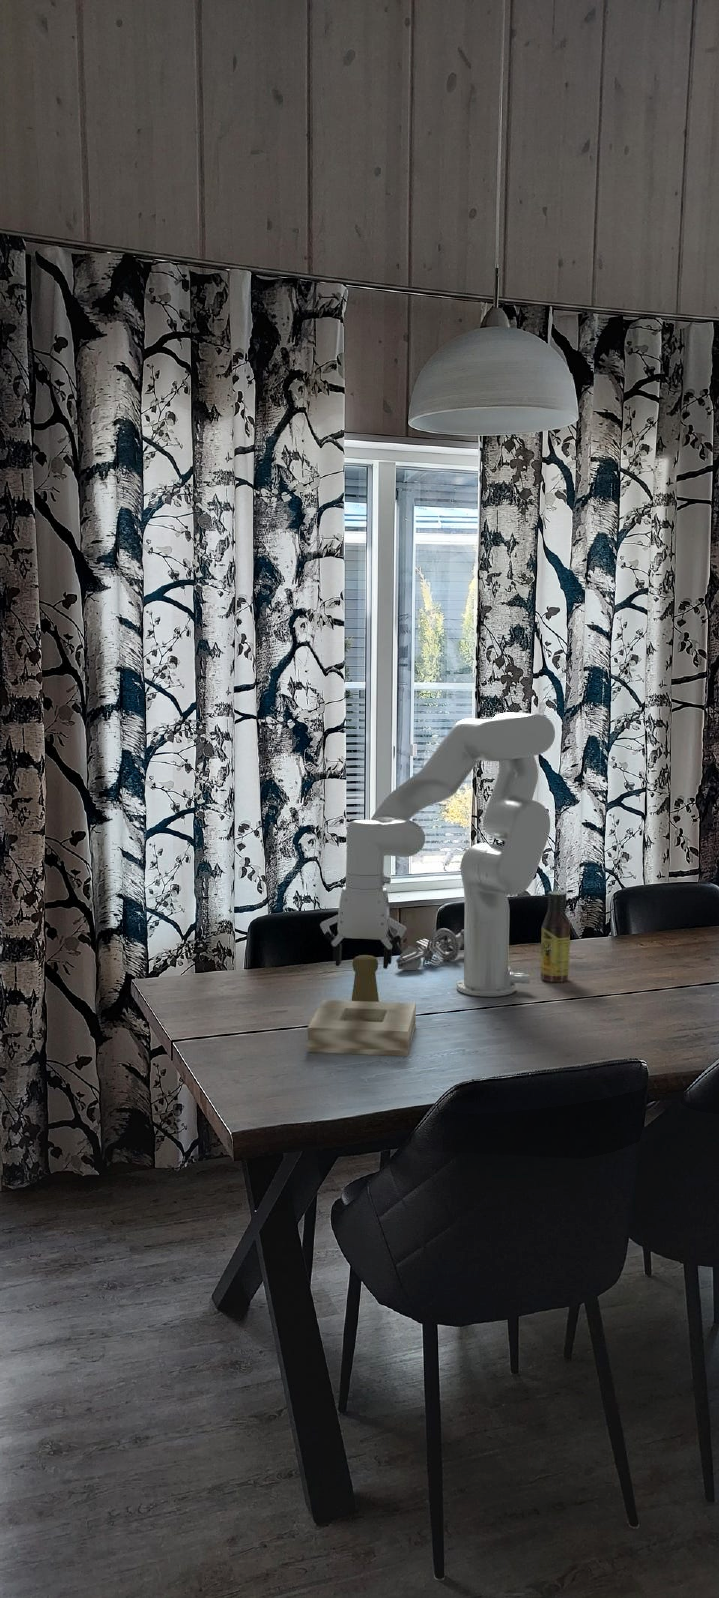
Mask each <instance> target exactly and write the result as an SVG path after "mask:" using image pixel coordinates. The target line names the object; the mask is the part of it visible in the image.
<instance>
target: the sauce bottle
mask: <svg viewBox="0 0 719 1598" xmlns="http://www.w3.org/2000/svg"><path fill="white" fill-rule="evenodd" d="M547 900H548V902H547V903H548V904H547V912H546V913H545V916H544V920H543V922H542V925H541V938H540V940H541V942H540V966H539V967H540V968H539V969H540V970H539V971H540V978H541V980H543V981H545V982H548V983H564V982H567V980H568V978H569V976H568V975H569V972H570V971H569V969H570V967H569V966H570V946H571V944H570V943H571V942H570V940H571V939H570V938H571V934H570V933H571V932H570V929H571V928H570V927H571V924H570V919H569V918H568V917H567V914H566V900H567V892H565V891H563V890H562V891H561V890H550V891H549V892H548V893H547Z"/></svg>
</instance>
